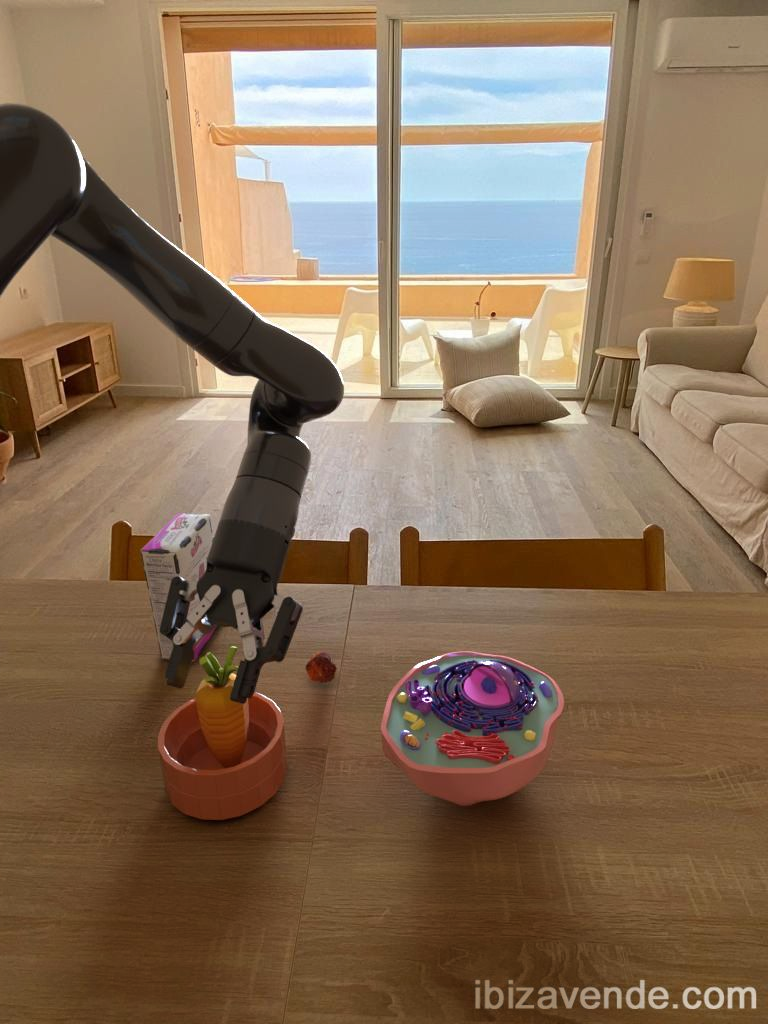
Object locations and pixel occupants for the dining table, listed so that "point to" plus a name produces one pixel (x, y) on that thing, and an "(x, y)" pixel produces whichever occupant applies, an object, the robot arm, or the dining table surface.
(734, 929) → the dining table surface
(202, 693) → the carrot
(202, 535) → the candy bar box
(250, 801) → the mixing bowl
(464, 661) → the cell model
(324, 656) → the meatball
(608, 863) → the dining table surface
